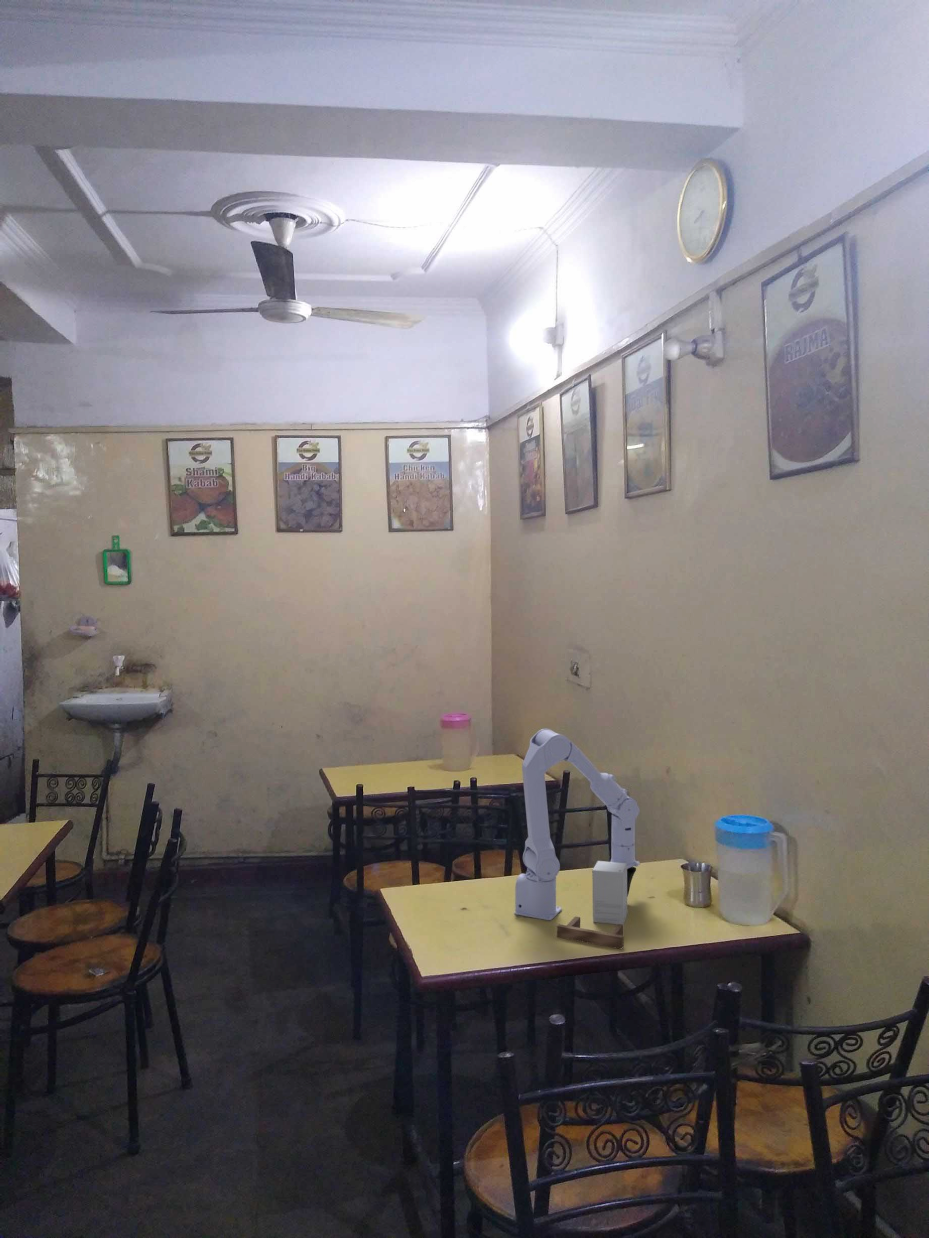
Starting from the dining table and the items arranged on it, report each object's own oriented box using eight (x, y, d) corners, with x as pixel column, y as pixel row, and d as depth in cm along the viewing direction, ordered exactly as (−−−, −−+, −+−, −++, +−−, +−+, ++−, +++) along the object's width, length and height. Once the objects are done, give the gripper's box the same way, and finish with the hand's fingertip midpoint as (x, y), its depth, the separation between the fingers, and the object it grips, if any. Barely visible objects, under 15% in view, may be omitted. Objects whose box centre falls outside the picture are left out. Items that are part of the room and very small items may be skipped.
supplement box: (628, 914, 215) (628, 862, 214) (623, 926, 208) (623, 872, 207) (597, 910, 217) (597, 859, 217) (591, 922, 210) (591, 869, 210)
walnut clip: (557, 936, 202) (557, 925, 202) (567, 925, 208) (567, 914, 208) (621, 948, 195) (621, 937, 195) (631, 936, 202) (631, 925, 201)
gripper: (630, 853, 213) (630, 909, 214) (646, 837, 226) (646, 890, 227) (602, 849, 216) (602, 904, 217) (619, 833, 229) (619, 885, 230)
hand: (622, 897), depth 222 cm, fingers closed
